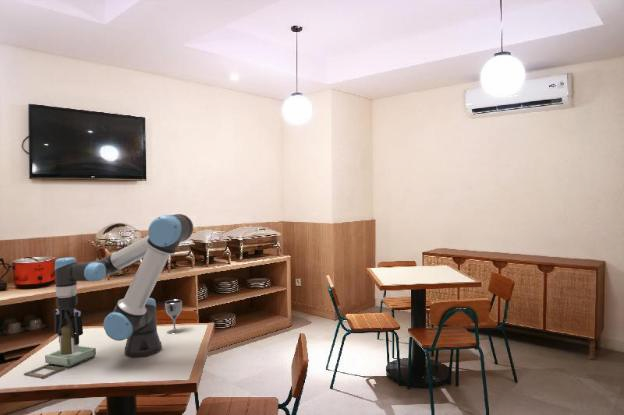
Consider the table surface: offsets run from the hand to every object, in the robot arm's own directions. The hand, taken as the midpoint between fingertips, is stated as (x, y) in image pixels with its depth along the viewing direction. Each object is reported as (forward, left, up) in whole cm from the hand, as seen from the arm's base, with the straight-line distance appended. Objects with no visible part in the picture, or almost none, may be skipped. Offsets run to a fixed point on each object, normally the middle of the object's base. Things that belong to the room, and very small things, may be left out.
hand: (69, 351), depth 180 cm
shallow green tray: (0, -1, -4) cm, 4 cm away
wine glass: (-16, -46, -5) cm, 49 cm away
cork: (0, 0, 0) cm, 1 cm away
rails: (0, +4, -4) cm, 6 cm away
